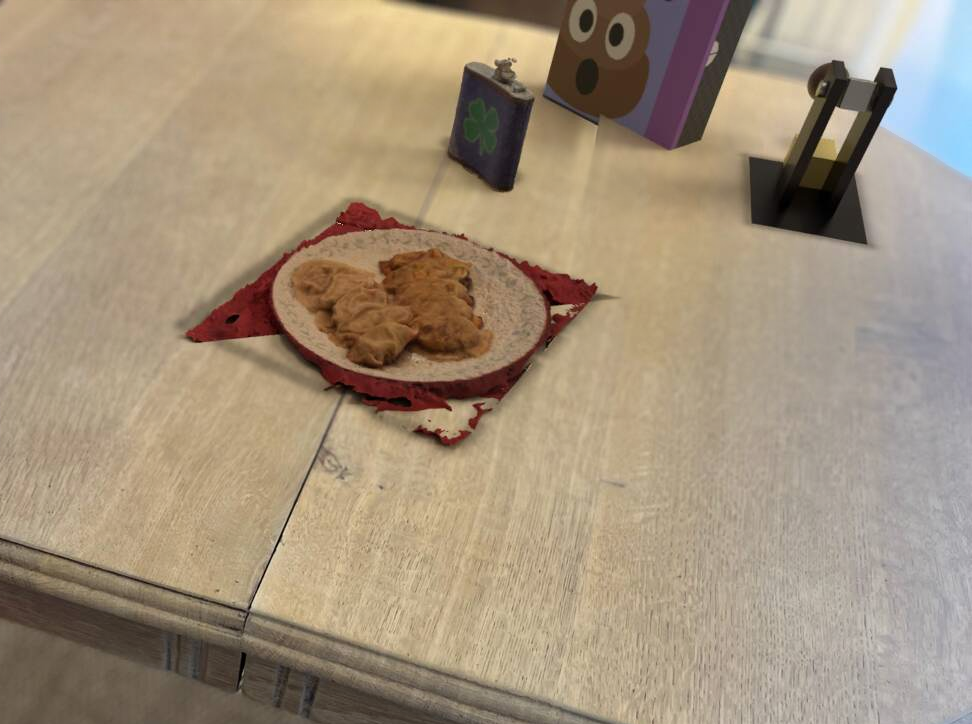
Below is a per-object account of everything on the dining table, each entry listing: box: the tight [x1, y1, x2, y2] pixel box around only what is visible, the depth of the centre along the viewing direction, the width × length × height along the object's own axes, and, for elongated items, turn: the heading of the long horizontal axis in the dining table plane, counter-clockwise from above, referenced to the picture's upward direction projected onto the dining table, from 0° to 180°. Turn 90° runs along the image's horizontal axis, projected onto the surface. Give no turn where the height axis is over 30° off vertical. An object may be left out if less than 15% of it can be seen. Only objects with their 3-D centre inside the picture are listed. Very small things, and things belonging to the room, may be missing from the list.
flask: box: [446, 57, 535, 194], centre depth 100 cm, size 9×3×11 cm, turn 28°
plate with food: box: [184, 201, 599, 446], centre depth 85 cm, size 24×26×4 cm
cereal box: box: [542, 0, 755, 151], centre depth 104 cm, size 17×5×24 cm, turn 33°
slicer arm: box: [806, 62, 877, 112], centre depth 98 cm, size 15×4×4 cm, turn 162°
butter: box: [782, 133, 838, 190], centre depth 102 cm, size 5×4×3 cm
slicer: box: [748, 59, 898, 246], centre depth 96 cm, size 14×10×13 cm
